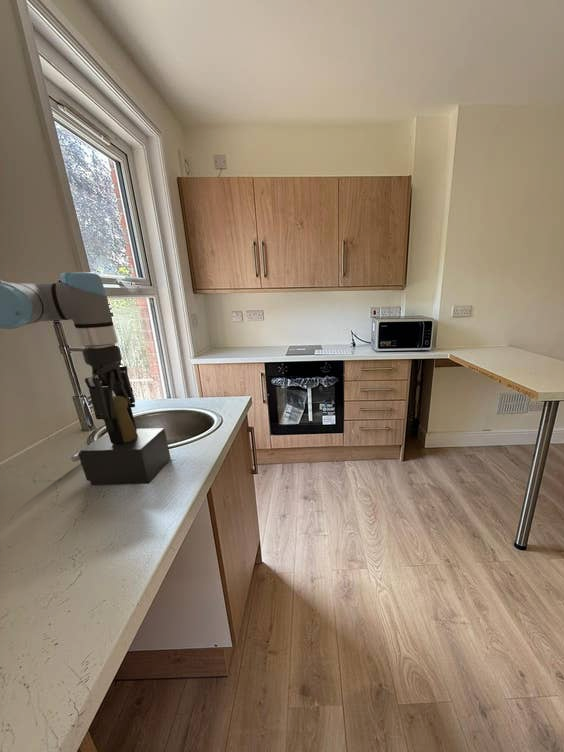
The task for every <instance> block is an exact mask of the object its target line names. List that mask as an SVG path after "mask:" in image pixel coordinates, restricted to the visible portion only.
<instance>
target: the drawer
mask: <svg viewBox="0 0 564 752" xmlns="http://www.w3.org/2000/svg"><path fill="white" fill-rule="evenodd" d="M70 459H71V461H72V462H74V463H76V462H79V461H80V464H81V467H82V470H83V473H84V476H85V479H86V481H87V482H90V480H89V477H88V474H87V470H86V467H85V464H84V461H83V458H82V455H81V452H80V451H78V452H76V453H75V454H73V455H72V456H71V457H70Z"/></svg>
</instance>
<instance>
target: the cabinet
mask: <svg viewBox="0 0 564 752" xmlns="http://www.w3.org/2000/svg"><path fill="white" fill-rule="evenodd" d="M136 429H137V434H138V437H137V438H136V439H134V440H132V441H129V442H124V443H111V441H110V437H109V434H108V431H106V433H104V434H103V435H101V436H99V437H98V438H97V439H95V440H94V441H92V442H91V443H89V444H88V445H86V446H85V447H83V448H82V449H81V450H79V452H81V455H82V458H83V461H84V464H85V467H86V470H87V474H88V477H89V480H90V481H89V482H90V485H91V486H111V485H113V486H114V485H120V486H121V485H149V484H151V483H152V481H153V480H154V479H155V478H156V477H157V476H158V474H160V472H161V471H162V470H163V469H164V468H165V467H166V465H167V464H168V463H169V462H170V461H171V460H172V457H171V453H170V447H169V443H168V439H167V435H166V430H165V428H164V427H155V428H151V427H149V428H136Z"/></svg>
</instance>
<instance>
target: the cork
mask: <svg viewBox="0 0 564 752" xmlns="http://www.w3.org/2000/svg"><path fill="white" fill-rule="evenodd" d="M113 407H114V417H117V419H118V423H119V427H120V430H121V434H122V438H123V441H124V442H129V441H132V440H134V439H136V438H137V437H138V434H137V432H136V429H137V428H136V429H135V427H134V425H133V422H132V420H131V418H130V415H129V413H128V410H127V407H128V401H127V399H126V398H125V397H122V396H115V395H114V396H113ZM124 442H123V443H124Z"/></svg>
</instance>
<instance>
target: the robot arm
mask: <svg viewBox="0 0 564 752" xmlns="http://www.w3.org/2000/svg"><path fill="white" fill-rule="evenodd" d="M105 290H106V289H105V287H104V283H103V280H102V277H101V276H100V274H98V273H96V272H89V271H87V272H86V271H77V272H75V271H73V272H62V273H60V282H53V283H49V282H47V283H46V282H45V283H42V282H41V283H39V282H38V283H35V282H34V283H33V282H32V283H30V282H29V283H25V282H7V281H4V280H2V279H0V329H6V330H13V329H18V328H22V327H24V326H27V325H31V324H36V323H40V322H54V321H72V322H73V324H74V328H75V331H76V334H77V338H78V341H79V342H78V343H79V345H80V346H81V348H82V347H83V348H82V349H81V353H82V357H83V361H84V363H85V364H86V365H87V366H91V374H92V375H91V376H90V377H85V378H84V383H85V385H86V387H87V388H88V393H89V396H90V399H91V403H92V408H93V411H94V416H95V419H96V420H103V422H104V425H105V429H106V432H108V434H109V437H110V441H111V443H123V442H124V441H123V438H122V434H121V430H120V427H119V423H118V419H117V417H114V407H113V397H114V396H122V397H125V398H126V399H127V401H128V407H127V410H128V413H129V415H130V418H131V420H132V422H133V425H134V427H135V429H136V432H137V429H138V428H137V426H136V421H135V418H134V413H133V410H132V408H136V404H135V403H136V398H135V395H134V391H133V388H132V384H131V381H130V377H129V373H128V372H129V371H128V367H127V365H120V364H119V362H121V361H122V360H123V357H122V353H121V349H120V346H119V345H118V342H119V340H118V337H117V333H116V332H117V331H116V329H115V325H114V322H113V317H112V313H111V308H110V304H109V299H108V295H107V293H106V291H105ZM113 394H114V396H113Z"/></svg>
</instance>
